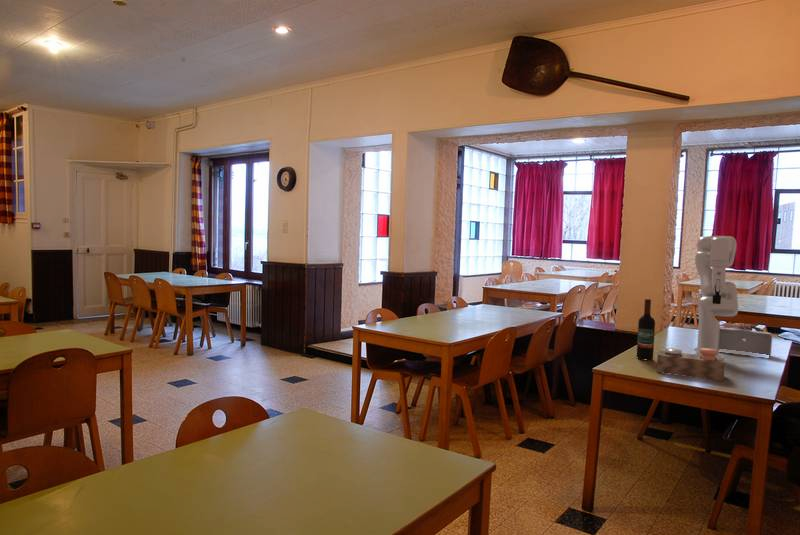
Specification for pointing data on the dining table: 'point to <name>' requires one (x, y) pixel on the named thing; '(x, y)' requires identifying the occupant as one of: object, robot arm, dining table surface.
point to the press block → (691, 366)
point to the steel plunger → (673, 352)
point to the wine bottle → (646, 333)
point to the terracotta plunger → (708, 353)
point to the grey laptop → (753, 343)
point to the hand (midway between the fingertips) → (716, 303)
